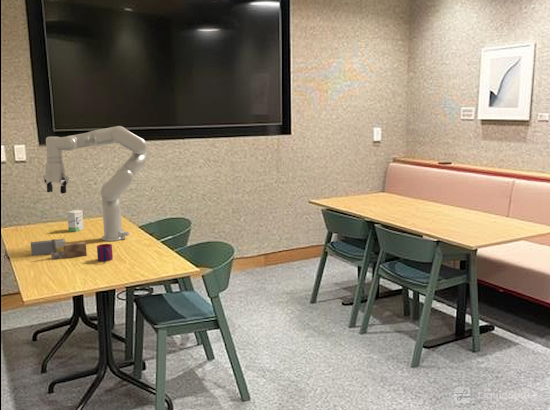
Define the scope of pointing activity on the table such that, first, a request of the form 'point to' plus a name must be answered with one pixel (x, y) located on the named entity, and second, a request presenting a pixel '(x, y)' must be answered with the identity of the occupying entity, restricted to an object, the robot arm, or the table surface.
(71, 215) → the ink box
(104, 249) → the mug
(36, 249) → the charcoal hinge leaf
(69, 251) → the walnut hinge leaf
